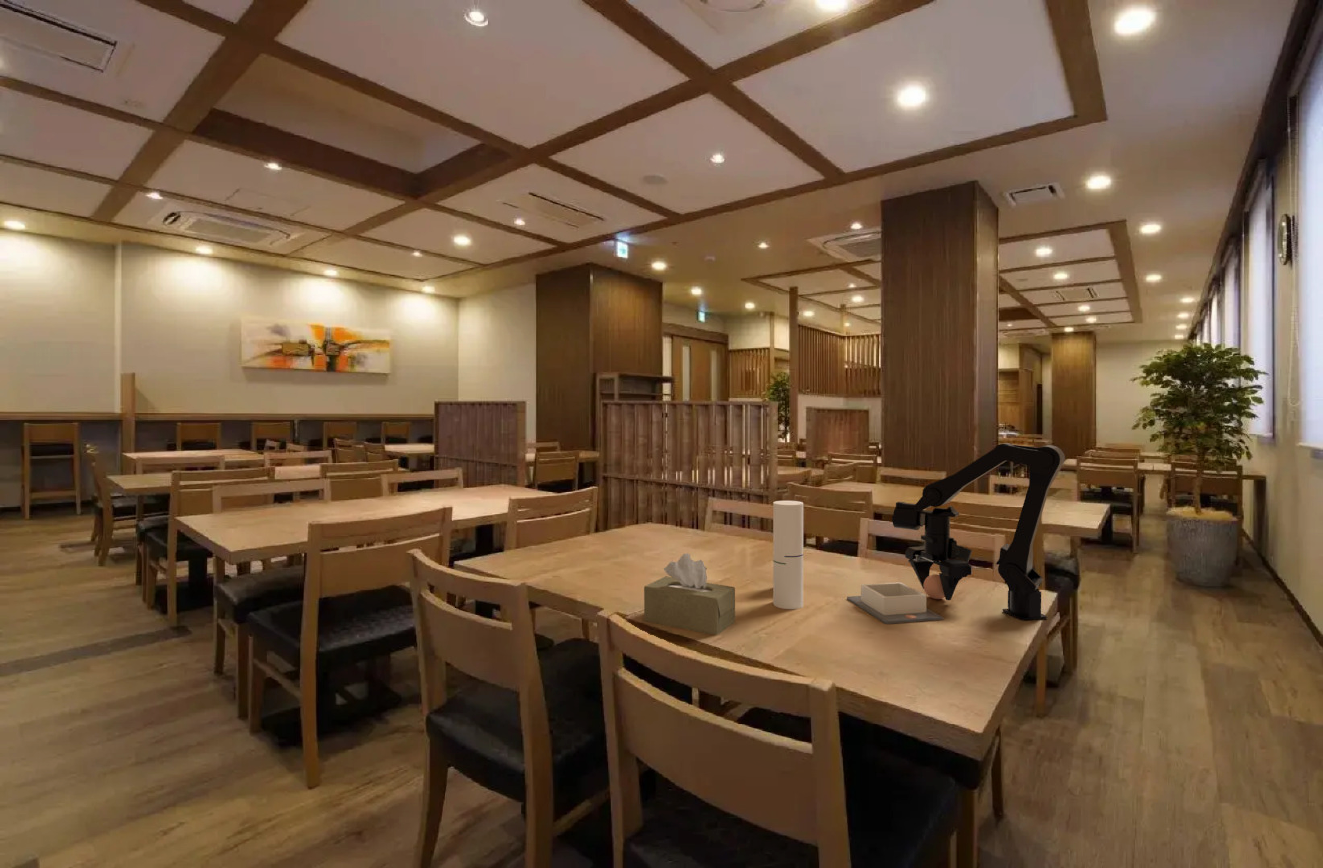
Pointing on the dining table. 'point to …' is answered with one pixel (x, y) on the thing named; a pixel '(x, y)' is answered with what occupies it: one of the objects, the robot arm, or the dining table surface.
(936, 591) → the terracotta ball
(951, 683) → the dining table surface
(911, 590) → the tray on grey plate
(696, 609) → the tissue box
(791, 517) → the cylindrical container
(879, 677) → the dining table surface
